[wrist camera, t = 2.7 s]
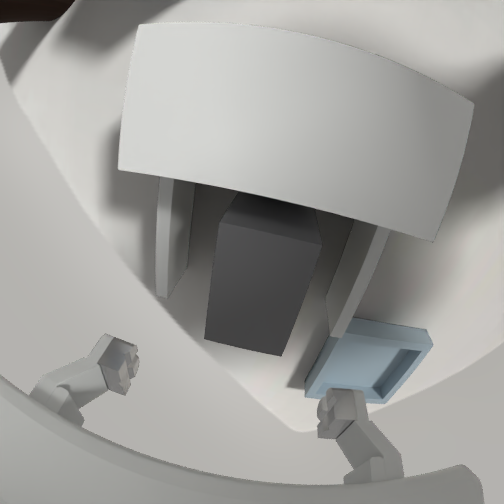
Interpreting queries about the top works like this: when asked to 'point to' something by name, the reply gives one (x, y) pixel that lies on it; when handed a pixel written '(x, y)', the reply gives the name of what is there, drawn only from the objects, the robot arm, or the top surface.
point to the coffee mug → (32, 10)
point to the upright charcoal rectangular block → (261, 272)
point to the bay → (290, 138)
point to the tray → (368, 360)
